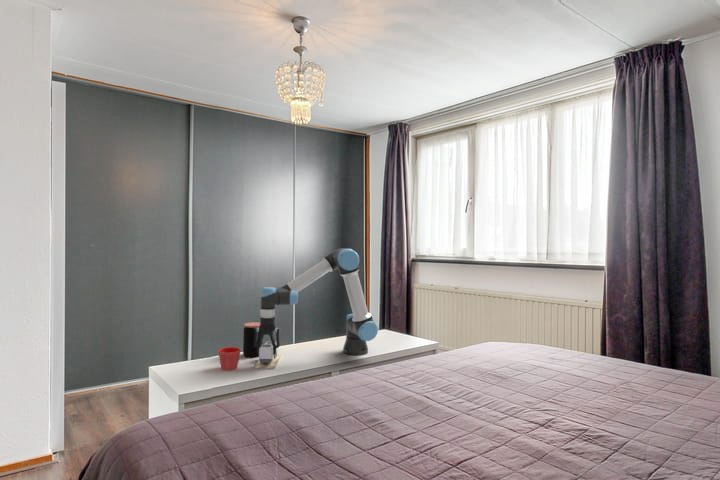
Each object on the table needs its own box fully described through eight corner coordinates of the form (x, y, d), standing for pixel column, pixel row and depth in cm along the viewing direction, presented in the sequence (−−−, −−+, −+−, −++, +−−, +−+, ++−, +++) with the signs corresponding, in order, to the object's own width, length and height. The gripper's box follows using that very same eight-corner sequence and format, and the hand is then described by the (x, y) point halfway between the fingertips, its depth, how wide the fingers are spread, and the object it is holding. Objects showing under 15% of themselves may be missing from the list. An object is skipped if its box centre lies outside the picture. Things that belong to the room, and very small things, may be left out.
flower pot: (228, 373, 211) (228, 353, 211) (213, 369, 217) (214, 350, 217) (244, 367, 220) (244, 349, 220) (230, 364, 226) (230, 345, 226)
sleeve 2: (275, 358, 233) (275, 344, 233) (264, 358, 233) (264, 343, 233) (277, 355, 239) (277, 341, 239) (266, 355, 239) (267, 341, 238)
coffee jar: (266, 354, 246) (266, 323, 246) (254, 359, 236) (254, 326, 236) (251, 352, 251) (252, 321, 251) (239, 356, 241) (239, 324, 241)
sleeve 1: (270, 362, 221) (271, 347, 221) (259, 362, 221) (260, 347, 221) (272, 359, 227) (273, 344, 227) (261, 359, 226) (262, 344, 226)
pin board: (281, 358, 240) (281, 345, 240) (274, 368, 220) (274, 355, 220) (263, 357, 240) (263, 345, 240) (254, 368, 220) (255, 354, 220)
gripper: (286, 315, 227) (285, 359, 227) (251, 314, 227) (250, 358, 227) (284, 318, 220) (283, 363, 220) (247, 317, 220) (246, 362, 220)
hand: (266, 360), depth 224 cm, fingers closed on sleeve 1, 6 cm apart
